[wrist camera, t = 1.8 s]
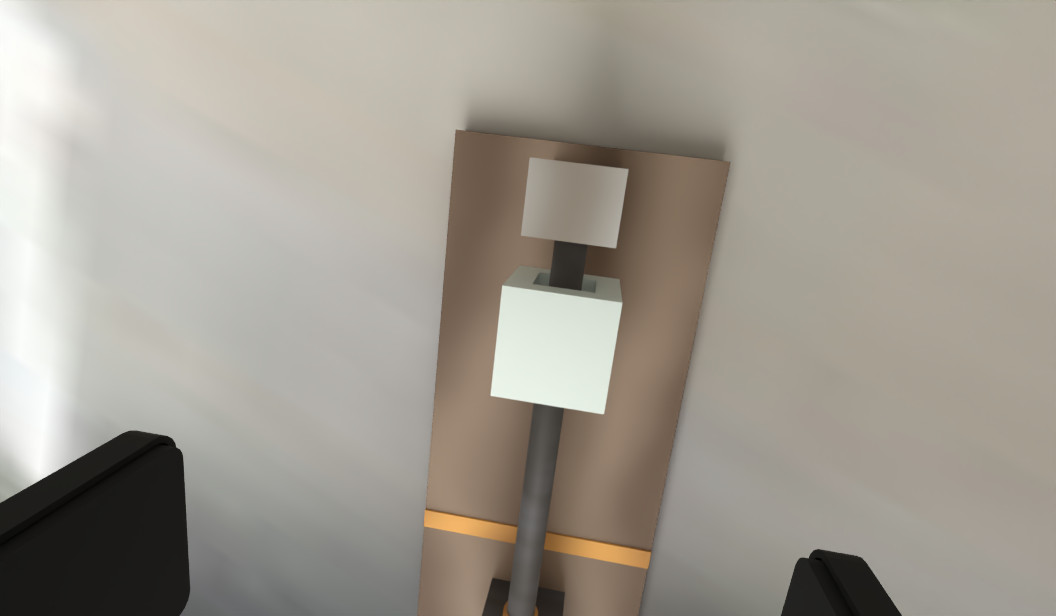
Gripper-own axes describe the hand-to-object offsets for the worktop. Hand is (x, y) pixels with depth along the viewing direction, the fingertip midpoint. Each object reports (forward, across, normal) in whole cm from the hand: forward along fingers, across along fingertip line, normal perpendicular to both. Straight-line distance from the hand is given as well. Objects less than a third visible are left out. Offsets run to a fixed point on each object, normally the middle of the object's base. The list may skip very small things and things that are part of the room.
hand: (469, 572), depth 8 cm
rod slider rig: (+20, -1, +7) cm, 21 cm away
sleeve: (+15, -1, 0) cm, 15 cm away
